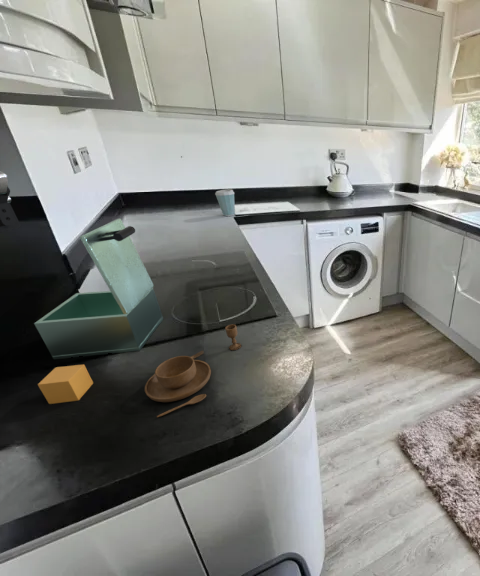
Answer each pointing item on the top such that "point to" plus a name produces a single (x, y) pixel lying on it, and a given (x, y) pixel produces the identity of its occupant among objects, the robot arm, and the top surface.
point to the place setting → (183, 377)
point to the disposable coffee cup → (226, 201)
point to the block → (66, 384)
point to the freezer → (98, 325)
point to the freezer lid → (118, 263)
